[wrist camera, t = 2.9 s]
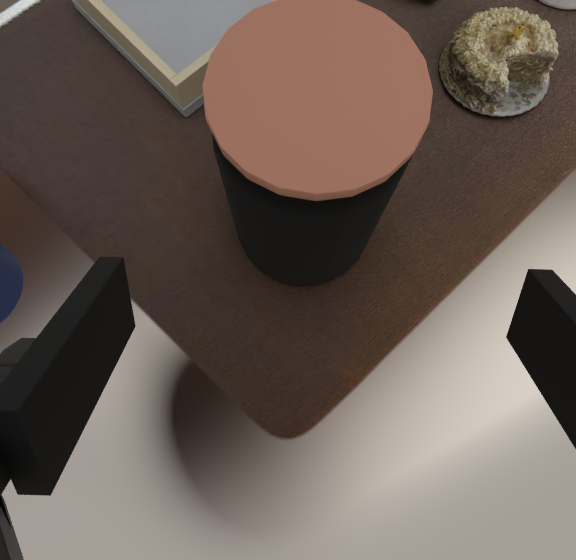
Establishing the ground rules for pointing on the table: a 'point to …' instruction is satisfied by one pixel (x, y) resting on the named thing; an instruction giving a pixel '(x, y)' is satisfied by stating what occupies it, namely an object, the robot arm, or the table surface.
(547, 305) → the robot arm
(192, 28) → the shallow square crate
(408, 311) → the table surface
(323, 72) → the coffee jar
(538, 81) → the cake
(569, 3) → the mug
